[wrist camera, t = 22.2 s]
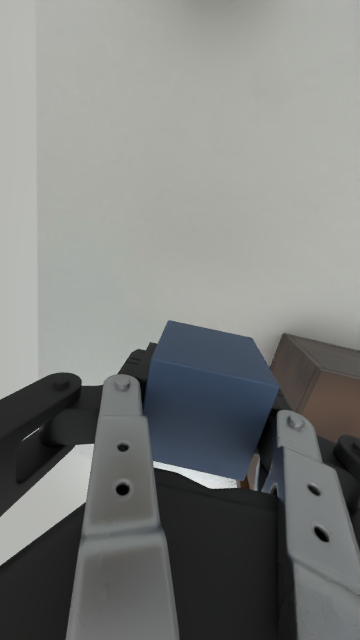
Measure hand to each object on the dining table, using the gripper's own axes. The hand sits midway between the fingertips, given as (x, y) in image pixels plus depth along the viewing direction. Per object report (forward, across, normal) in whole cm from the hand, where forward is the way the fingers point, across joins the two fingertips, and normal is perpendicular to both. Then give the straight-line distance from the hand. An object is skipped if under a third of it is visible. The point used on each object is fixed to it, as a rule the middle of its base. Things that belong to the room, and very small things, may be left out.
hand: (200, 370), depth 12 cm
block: (0, 0, 0) cm, 0 cm away
